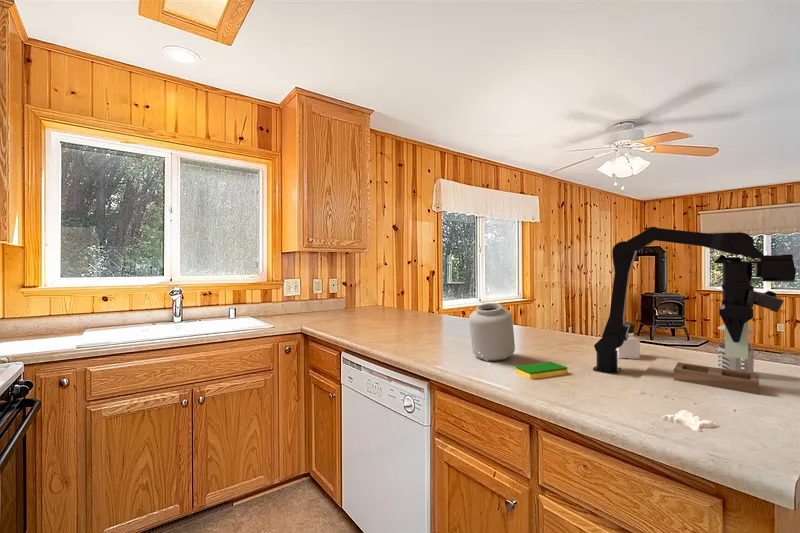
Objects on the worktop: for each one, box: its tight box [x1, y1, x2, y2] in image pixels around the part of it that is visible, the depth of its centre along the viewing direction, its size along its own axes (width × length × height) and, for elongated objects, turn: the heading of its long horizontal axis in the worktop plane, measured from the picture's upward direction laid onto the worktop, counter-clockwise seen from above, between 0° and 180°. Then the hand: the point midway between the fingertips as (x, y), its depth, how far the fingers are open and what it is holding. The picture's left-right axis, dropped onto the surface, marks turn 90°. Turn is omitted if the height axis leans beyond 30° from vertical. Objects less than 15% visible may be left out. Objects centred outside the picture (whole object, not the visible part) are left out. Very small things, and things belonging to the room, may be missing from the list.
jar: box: [468, 287, 516, 365], centre depth 131 cm, size 19×15×25 cm
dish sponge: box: [515, 361, 568, 380], centre depth 114 cm, size 7×14×2 cm, turn 110°
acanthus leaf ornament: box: [661, 409, 720, 433], centre depth 79 cm, size 8×7×2 cm
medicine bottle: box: [616, 321, 641, 360], centre depth 132 cm, size 7×7×12 cm
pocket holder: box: [673, 361, 760, 396], centre depth 101 cm, size 9×17×4 cm, turn 47°
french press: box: [717, 324, 755, 373], centre depth 108 cm, size 10×12×25 cm
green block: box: [724, 321, 749, 360], centre depth 97 cm, size 4×4×10 cm
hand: (736, 340), depth 98 cm, fingers closed on green block, 4 cm apart
